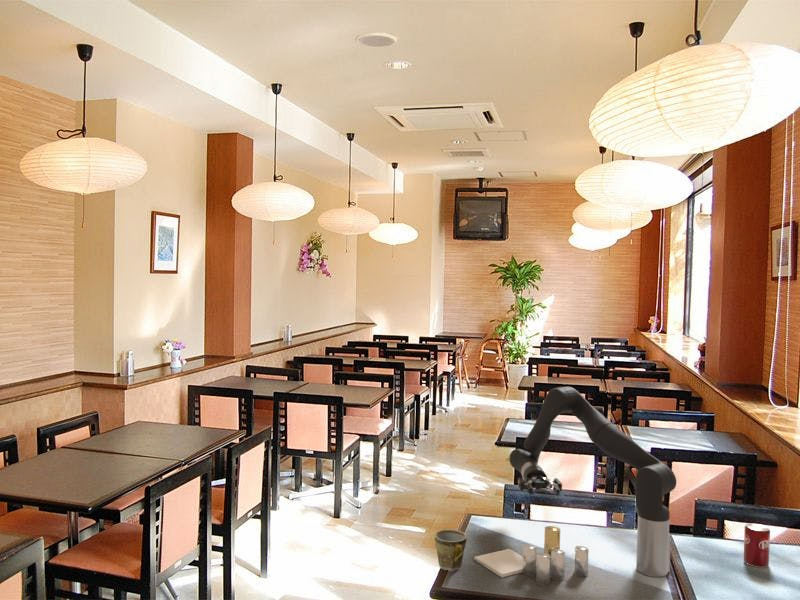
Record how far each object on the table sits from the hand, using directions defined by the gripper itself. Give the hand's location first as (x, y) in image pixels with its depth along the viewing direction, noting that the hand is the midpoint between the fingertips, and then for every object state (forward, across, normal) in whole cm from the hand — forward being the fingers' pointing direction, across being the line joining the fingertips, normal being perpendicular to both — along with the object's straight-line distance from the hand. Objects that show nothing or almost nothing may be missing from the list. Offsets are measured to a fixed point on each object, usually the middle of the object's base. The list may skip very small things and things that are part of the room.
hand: (544, 492), depth 219 cm
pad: (+10, -14, +20) cm, 26 cm away
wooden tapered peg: (+11, 0, +20) cm, 23 cm away
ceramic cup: (+13, -31, +20) cm, 40 cm away
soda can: (+8, +68, +19) cm, 71 cm away
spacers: (+16, 0, +19) cm, 25 cm away
